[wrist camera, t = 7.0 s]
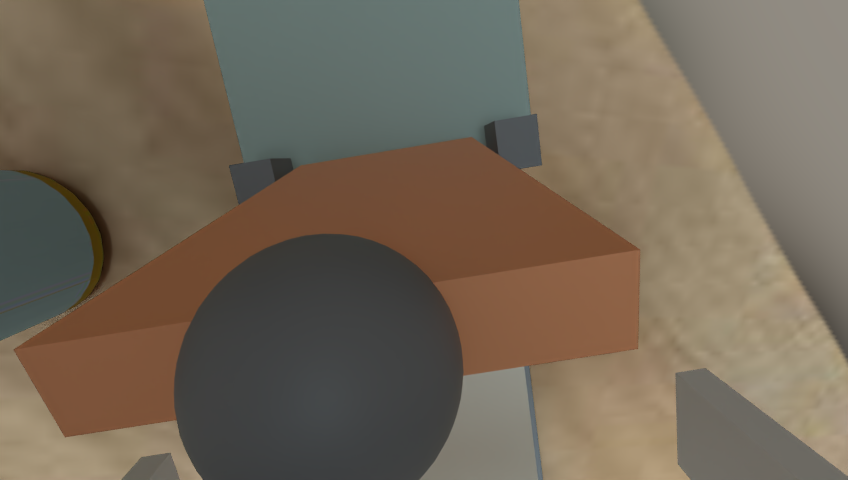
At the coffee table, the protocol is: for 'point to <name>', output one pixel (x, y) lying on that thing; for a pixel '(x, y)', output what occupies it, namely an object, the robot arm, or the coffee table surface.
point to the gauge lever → (343, 316)
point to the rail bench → (371, 84)
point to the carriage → (489, 431)
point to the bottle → (43, 251)
